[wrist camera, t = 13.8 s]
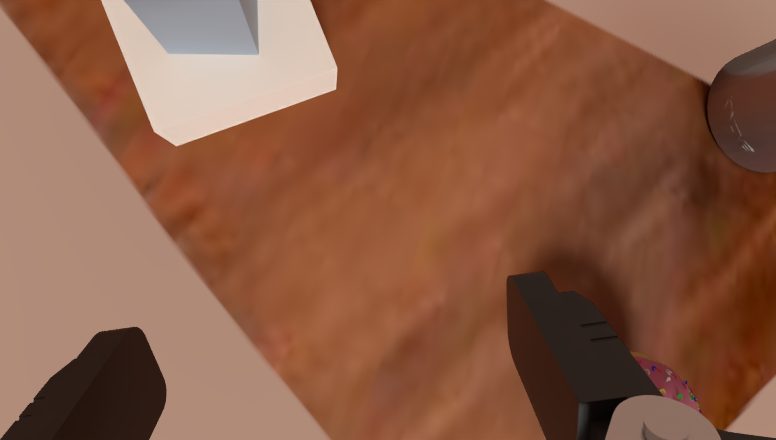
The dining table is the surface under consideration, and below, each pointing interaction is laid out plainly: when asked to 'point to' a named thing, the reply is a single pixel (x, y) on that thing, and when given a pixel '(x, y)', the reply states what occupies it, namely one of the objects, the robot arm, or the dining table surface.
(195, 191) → the dining table surface
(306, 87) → the base
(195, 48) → the block
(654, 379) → the cupcake
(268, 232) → the dining table surface
